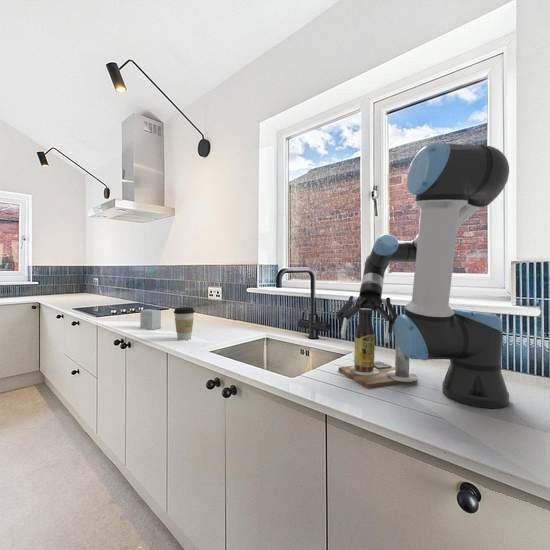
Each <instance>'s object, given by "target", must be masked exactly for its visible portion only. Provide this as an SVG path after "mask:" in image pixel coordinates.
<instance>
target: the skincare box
mask: <svg viewBox="0 0 550 550" xmlns="http://www.w3.org/2000/svg"><path fill="white" fill-rule="evenodd" d="M139 313H140V314H139V315H140V319H139V320H140V322H139V323H140V325H139V326H140V327H139V329H143V328H146V329H145V330H150V329H153V330H157V328H159V329H161V328H162V327H161V326H162V325H161V324H162V321H161V320H162V310H159V309H147V308H146V309H140V312H139Z"/></svg>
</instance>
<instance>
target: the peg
mask: <svg viewBox="0 0 550 550" xmlns="http://www.w3.org/2000/svg"><path fill="white" fill-rule="evenodd" d="M394 341H395V349H394V350H395V352H394V354H395V356H394V357H395V358H394V362H395V363H394V367H395V375H396V376H398V377H404V378H406V377H409V372H410V358H408V357H406V356H405V355H404V354H403V353H402V351H401V350H400V348H399V346H398V343H397V341H396V340H394Z"/></svg>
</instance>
